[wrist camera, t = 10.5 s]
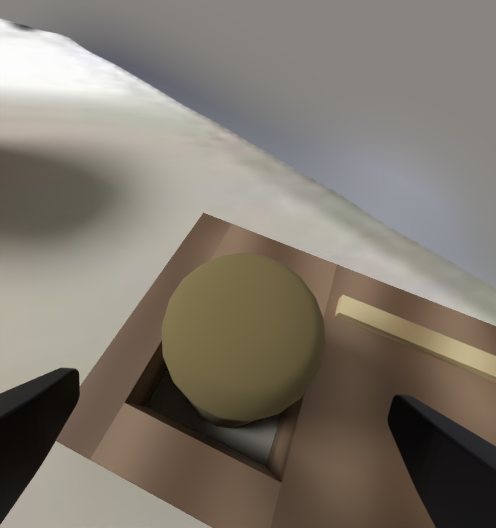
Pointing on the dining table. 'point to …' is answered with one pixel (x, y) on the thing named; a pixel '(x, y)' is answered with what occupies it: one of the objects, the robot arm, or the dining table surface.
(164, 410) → the dining table surface
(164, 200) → the dining table surface
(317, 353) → the cork
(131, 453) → the walnut jig
